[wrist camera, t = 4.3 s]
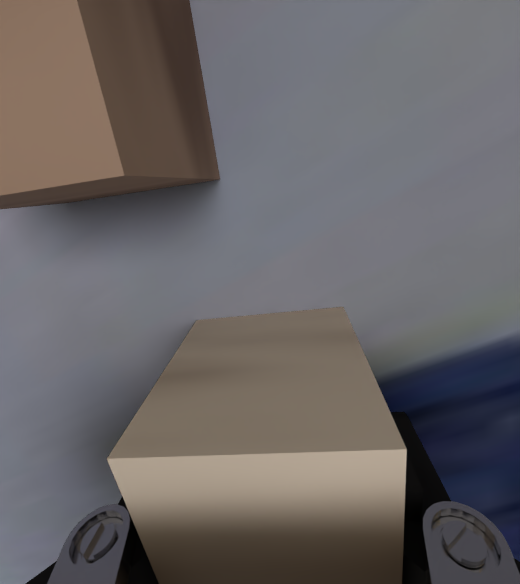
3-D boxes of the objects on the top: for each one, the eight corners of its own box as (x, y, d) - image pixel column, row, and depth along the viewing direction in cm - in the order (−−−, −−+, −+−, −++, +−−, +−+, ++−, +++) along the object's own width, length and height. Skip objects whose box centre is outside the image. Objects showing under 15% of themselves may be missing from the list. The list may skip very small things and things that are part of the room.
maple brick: (351, 477, 11) (398, 693, 6) (234, 480, 12) (199, 679, 7) (343, 306, 9) (407, 449, 4) (196, 320, 9) (106, 458, 5)
